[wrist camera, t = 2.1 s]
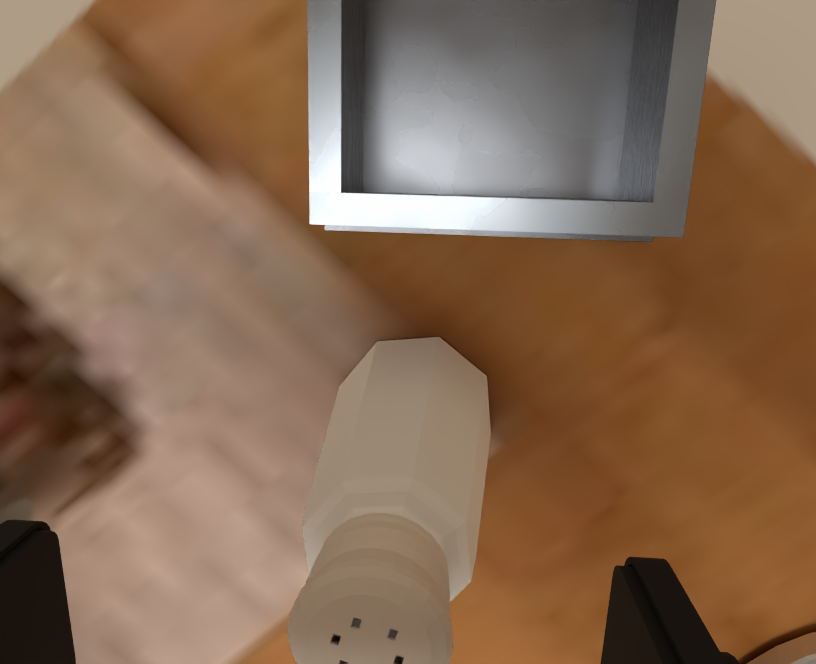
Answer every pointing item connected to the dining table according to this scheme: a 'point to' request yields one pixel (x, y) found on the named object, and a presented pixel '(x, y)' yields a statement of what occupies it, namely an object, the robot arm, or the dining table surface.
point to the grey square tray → (505, 116)
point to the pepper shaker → (394, 508)
